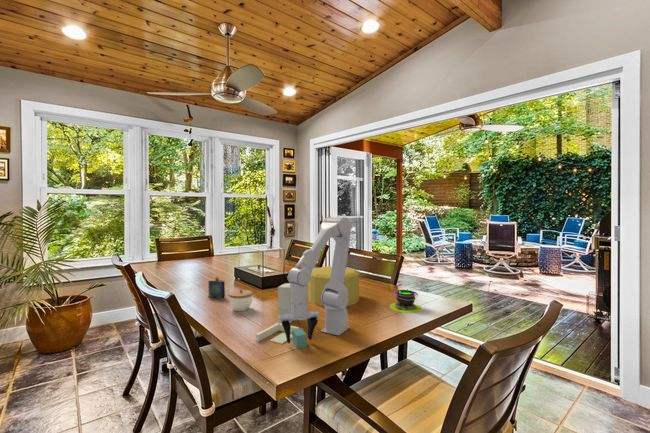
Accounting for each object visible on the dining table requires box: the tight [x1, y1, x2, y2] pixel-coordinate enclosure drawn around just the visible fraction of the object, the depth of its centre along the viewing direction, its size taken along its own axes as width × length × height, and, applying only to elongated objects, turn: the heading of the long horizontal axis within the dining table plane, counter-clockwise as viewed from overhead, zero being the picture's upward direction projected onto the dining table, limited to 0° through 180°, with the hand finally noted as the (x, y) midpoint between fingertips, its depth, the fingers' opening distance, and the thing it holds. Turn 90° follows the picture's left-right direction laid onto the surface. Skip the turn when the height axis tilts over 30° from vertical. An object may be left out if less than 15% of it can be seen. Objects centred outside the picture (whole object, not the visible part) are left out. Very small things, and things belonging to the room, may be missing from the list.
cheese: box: [308, 265, 360, 307], centre depth 167 cm, size 26×26×15 cm
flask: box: [207, 276, 226, 299], centre depth 170 cm, size 9×3×11 cm, turn 76°
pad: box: [269, 332, 292, 345], centre depth 118 cm, size 8×6×1 cm
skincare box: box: [277, 282, 293, 324], centre depth 137 cm, size 8×6×15 cm
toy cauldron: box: [389, 285, 423, 314], centre depth 153 cm, size 15×15×11 cm
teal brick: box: [291, 327, 308, 349], centre depth 113 cm, size 6×4×4 cm, turn 20°
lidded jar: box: [228, 288, 254, 312], centre depth 151 cm, size 11×11×9 cm
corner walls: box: [255, 321, 300, 343], centre depth 119 cm, size 13×10×2 cm
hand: (299, 340), depth 113 cm, fingers open, 7 cm apart
